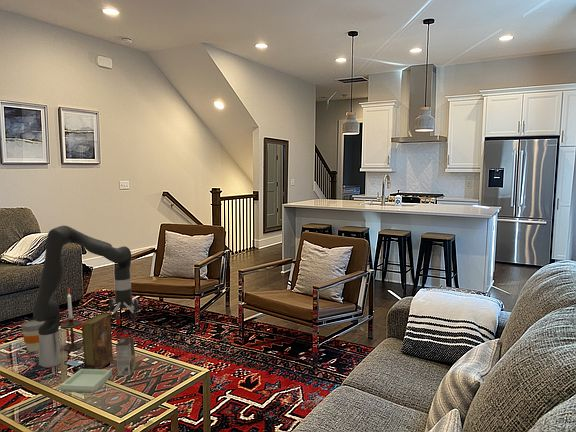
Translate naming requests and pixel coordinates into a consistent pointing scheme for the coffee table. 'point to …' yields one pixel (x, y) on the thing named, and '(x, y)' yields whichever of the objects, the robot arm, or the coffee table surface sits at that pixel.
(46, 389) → the coffee table surface
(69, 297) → the candlestick
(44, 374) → the coffee table surface
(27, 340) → the reusable coffee cup
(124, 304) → the robot arm
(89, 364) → the book
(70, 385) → the tray
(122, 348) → the coffee box
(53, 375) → the coffee table surface
